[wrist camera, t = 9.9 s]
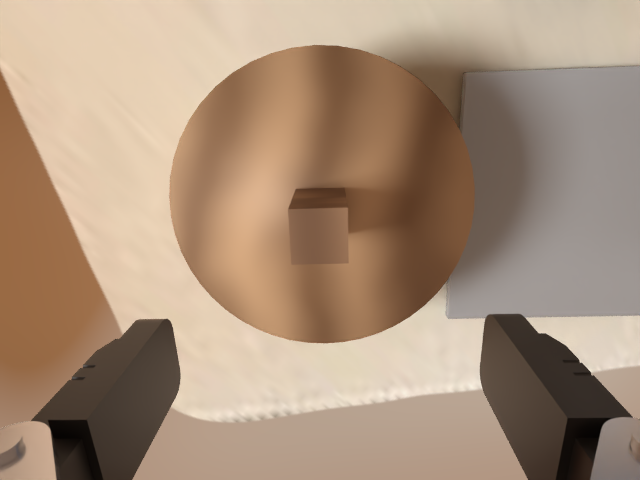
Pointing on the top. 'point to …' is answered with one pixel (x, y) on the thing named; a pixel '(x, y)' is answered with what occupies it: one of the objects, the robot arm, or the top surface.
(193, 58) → the top surface
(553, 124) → the mat
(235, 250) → the lid
